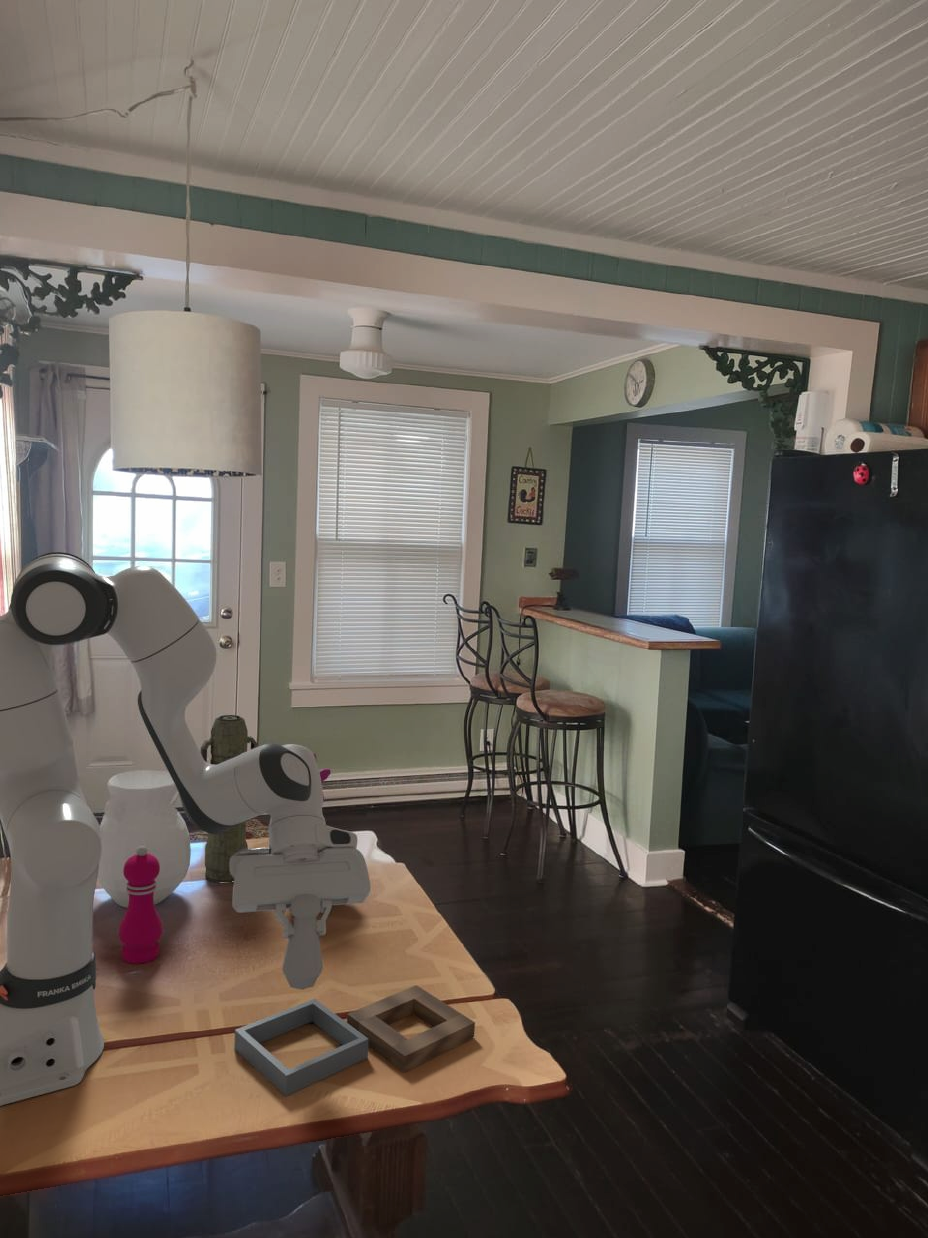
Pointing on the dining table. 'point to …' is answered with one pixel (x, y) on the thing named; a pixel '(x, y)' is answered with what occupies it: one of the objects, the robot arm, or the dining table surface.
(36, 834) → the robot arm
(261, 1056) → the blue square frame
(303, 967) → the salt shaker
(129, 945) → the pepper mill
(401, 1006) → the brown square frame
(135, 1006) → the dining table surface
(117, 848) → the pitcher
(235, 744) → the thermos
